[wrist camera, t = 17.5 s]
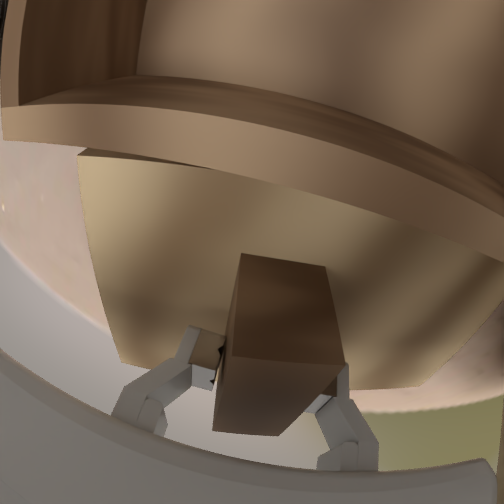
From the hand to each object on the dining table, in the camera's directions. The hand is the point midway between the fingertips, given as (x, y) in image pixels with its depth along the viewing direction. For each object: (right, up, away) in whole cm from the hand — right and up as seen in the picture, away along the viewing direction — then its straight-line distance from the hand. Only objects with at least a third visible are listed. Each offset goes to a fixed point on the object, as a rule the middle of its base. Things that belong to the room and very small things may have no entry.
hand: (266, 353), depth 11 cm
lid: (+3, +2, +3) cm, 5 cm away
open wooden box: (+8, +12, -4) cm, 15 cm away
